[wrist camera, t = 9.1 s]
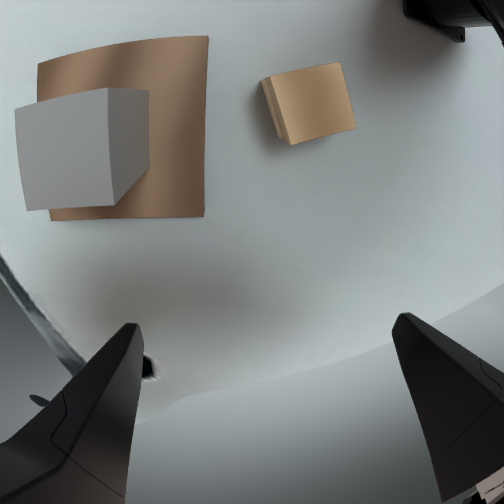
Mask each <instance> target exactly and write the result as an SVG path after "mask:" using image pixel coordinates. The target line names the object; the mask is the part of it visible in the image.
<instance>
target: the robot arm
mask: <svg viewBox="0 0 504 504" xmlns="http://www.w3.org/2000/svg"><path fill="white" fill-rule="evenodd" d="M403 6H404V14H405V15H406V16H407V17H408V18H410V19H412V20H415V21H417V22H419V23H421V24H424V25H426V26H428V27H430V28H432V29H434V30H436V31H438V32H440V33H442V34H444V35H446V36H448V37H450V38H452V39H454V40H455V41H457V42H460V43H463V42H465V28H466V27H480V26H493V27H494V29H495V31H496V32H497V34H498V36H499V38H500V39H501V41H502V45H503V47H504V0H403ZM409 11H410V12H411V14H410V13H409ZM459 36H460V37H459ZM392 337H393V341H394V344H395V347H396V351H397V355H398V358H399V362H400V365H401V369H402V372H403V375H404V377H405V380H406V383H407V386H408V388H409V391H410V394H411V397H412V400H413V403H414V405H415V408H416V411H417V414H418V417H419V420H420V423H421V427H422V430H423V433H424V436H425V440H426V443H427V447H428V450H429V453H430V457H431V461H432V464H433V469H434V472H435V476H436V481H437V485H438V489H439V493H440V498H441V501H442V503H443V502H445V501H447V500H449V499H451V498H453V497H455V496H457V495H459V494H461V493H462V492H464V491H466V490H468V489H470V488H471V487H473V486H475V485H476V486H477V489H478V490H477V491H476V492H475V493H473V494H472V495H470V496H469V497H467V498H466V499H464V501H463V503H462V504H504V373H503V372H501V371H500V370H498V369H496V368H495V367H493V366H492V365H490V364H488V363H487V362H485V361H484V360H482V359H481V358H478V356H476V355H475V354H473V353H472V352H470V351H469V350H467V349H466V348H464V347H463V346H461V345H460V344H458V343H457V342H455V341H453V340H452V339H450V338H449V337H448V336H446V335H444V334H443V333H441V332H440V331H438V330H437V329H435V328H434V327H432V326H430V325H429V324H427V323H426V322H424V321H423V320H421V319H419V318H418V317H416V316H415V315H413V314H411V313H409V312H407V313H401V314H399V316H398V318H397V320H396V322H395V324H394V327H393V329H392ZM143 352H144V341H143V337H142V334H141V330H140V326H139V324H137V323H126V324H125V325H124V326H123V327H122V328H121V329H120V330H119V331H118V332H117V333H116V334H115V335H114V336H113V337H112V338H111V339H110V340H109V341H108V342H107V343H106V344H105V345H104V346H103V347H102V348H101V349H100V350H99V351H98V352H97V353H96V354H95V355H94V356H93V357H92V358H91V359H90V360H89V361H88V362H87V363H86V364H85V365H84V366H83V367H82V369H81V370H80V371H79V372H78V373H77V374H76V375H75V376H74V377H73V378H72V379H71V380H70V381H69V382H68V383H67V384H66V386H65V387H64V388H63V389H62V391H60V392H59V393H58V394H57V395H56V396H55V397H54V398H53V399H52V400H51V401H50V402H49V403H48V404H47V405H46V406H45V407H44V408H43V409H42V410H41V411H40V412H39V413H38V414H37V415H36V416H35V417H34V418H33V419H31V420H30V421H29V422H28V423H27V424H26V425H25V426H23V428H21V429H20V430H19V431H18V432H17V433H16V434H14V436H12V437H11V438H10V439H9V440H7V441H5V442H3V443H1V444H0V504H125V493H126V483H127V474H128V466H129V458H130V450H131V443H132V436H133V430H134V424H135V418H136V412H137V406H138V400H139V395H140V389H141V377H142V363H143Z"/></svg>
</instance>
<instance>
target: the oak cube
mask: <svg viewBox="0 0 504 504" xmlns="http://www.w3.org/2000/svg"><path fill="white" fill-rule="evenodd" d="M260 82H261V85H262V88H263V91H264V94H265V97H266V100H267V103H268V106H269V109H270V112H271V115H272V119H273V122H274V125H275V128H276V131H277V135H278V137H280V138H281V139H283V140H284V141H286V142H287V143H289V144H290V145H294V144H297V143H301V142H304V141H308V140H312V139H316V138H319V137H323V136H327V135H331V134H335V133H339V132H343V131H347V130H351V129H356V124H355V120H354V115H353V111H352V107H351V103H350V99H349V95H348V91H347V87H346V84H345V80H344V76H343V73H342V69H341V66H340V63H339V62H337V63H330V64H325V65H319V66H314V67H309V68H304V69H299V70H294V71H290V72H286V73H281V74H277V75H273V76H270V77H267V78H265V79H263V80H261V81H260Z"/></svg>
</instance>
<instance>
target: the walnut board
mask: <svg viewBox="0 0 504 504" xmlns="http://www.w3.org/2000/svg"><path fill="white" fill-rule="evenodd" d="M208 44H209V38H208V36H184V37H169V38H157V39H148V40H140V41H132V42H126V43H119V44H114V45H108V46H103V47H98V48H94V49H89V50H85V51H81V52H77V53H73V54H69V55H65V56H62V57H58V58H55V59H52V60H48V61H45V62H42V63H39V64H38V74H37V103H38V102H41V101H45V100H49V99H53V98H57V97H61V96H66V95H70V94H75V93H80V92H85V91H90V90H96V89H102V88H127V89H140V90H149V153H150V167H149V168H148V169H147V170H146V171H145V173H144V174H143V175H142V176H141V177H140V178H139V179H138V180H137V181H136V182H135V183H134V184H133V185H132V186H131V187H130V188H129V190H128V191H127V192H126V193H125V194H124V195H123V196H122V197H121V198H120V200H119V201H118V202H117V203H116V204H115V205H110V206H90V207H73V208H58V209H49V213H50V218H51V221H61V220H82V219H108V218H144V217H204V151H205V107H206V81H207V61H208Z"/></svg>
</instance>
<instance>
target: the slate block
mask: <svg viewBox="0 0 504 504" xmlns="http://www.w3.org/2000/svg"><path fill="white" fill-rule="evenodd" d="M15 128H16V141H17V152H18V160H19V168H20V175H21V181H22V187H23V193H24V198H25V203H26V208H27V211H33V210H45V209H58V208H73V207H90V206H110V205H115V204H116V203H117V202H118V201H119V200H120V198H121V197H122V196H123V195H124V194H125V193H126V192H127V191H128V190H129V188H130V187H131V186H132V185H133V184H134V183H135V182H136V181H137V180H138V179H139V178H140V177H141V176H142V175H143V174H144V173H145V171H146V170H147V169H148V168H149V167H150V153H149V90H140V89H127V88H102V89H96V90H90V91H85V92H80V93H75V94H70V95H66V96H61V97H57V98H53V99H49V100H45V101H41V102H38V103H34V104H31V105H27V106H24V107H21V108H18V109H15Z"/></svg>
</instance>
